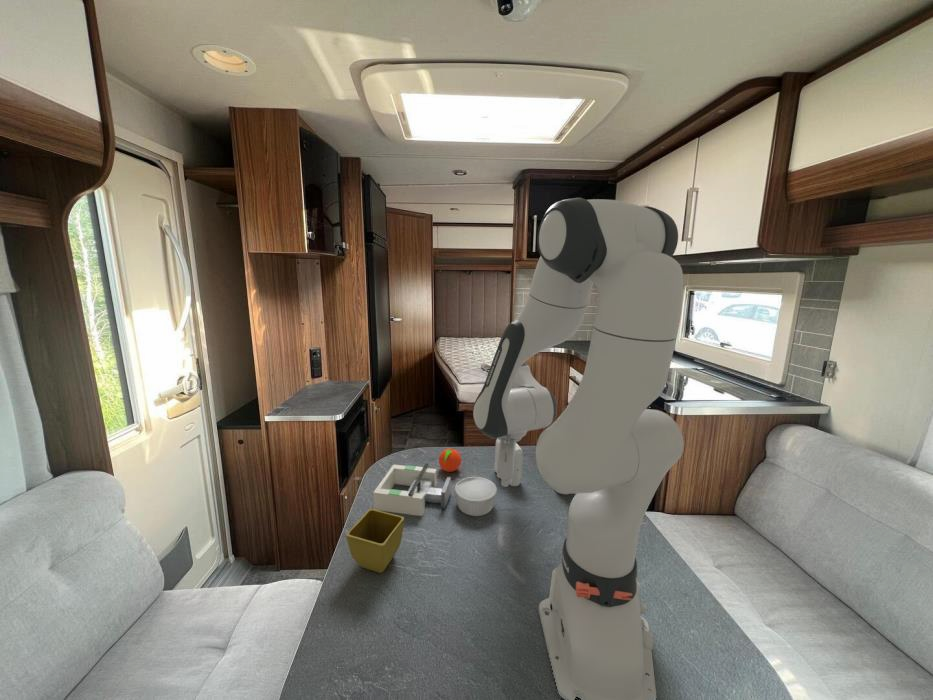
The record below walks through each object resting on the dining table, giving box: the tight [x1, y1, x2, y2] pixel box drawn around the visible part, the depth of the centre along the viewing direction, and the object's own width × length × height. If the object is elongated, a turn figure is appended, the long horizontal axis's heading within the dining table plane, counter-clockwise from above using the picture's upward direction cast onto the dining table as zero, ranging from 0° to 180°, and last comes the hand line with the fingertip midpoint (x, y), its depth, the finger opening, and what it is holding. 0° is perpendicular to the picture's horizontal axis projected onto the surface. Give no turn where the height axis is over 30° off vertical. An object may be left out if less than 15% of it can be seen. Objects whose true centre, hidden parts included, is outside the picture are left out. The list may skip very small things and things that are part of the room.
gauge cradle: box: [372, 464, 438, 517], centre depth 99 cm, size 14×13×5 cm
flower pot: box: [345, 508, 405, 574], centre depth 76 cm, size 9×9×9 cm
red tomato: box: [438, 447, 462, 473], centre depth 112 cm, size 8×7×7 cm
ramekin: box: [454, 476, 498, 517], centre depth 96 cm, size 11×11×5 cm
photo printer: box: [494, 438, 524, 487], centre depth 108 cm, size 10×4×12 cm, turn 28°
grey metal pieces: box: [407, 462, 452, 510], centre depth 98 cm, size 15×10×6 cm
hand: (506, 474), depth 94 cm, fingers open, 8 cm apart
